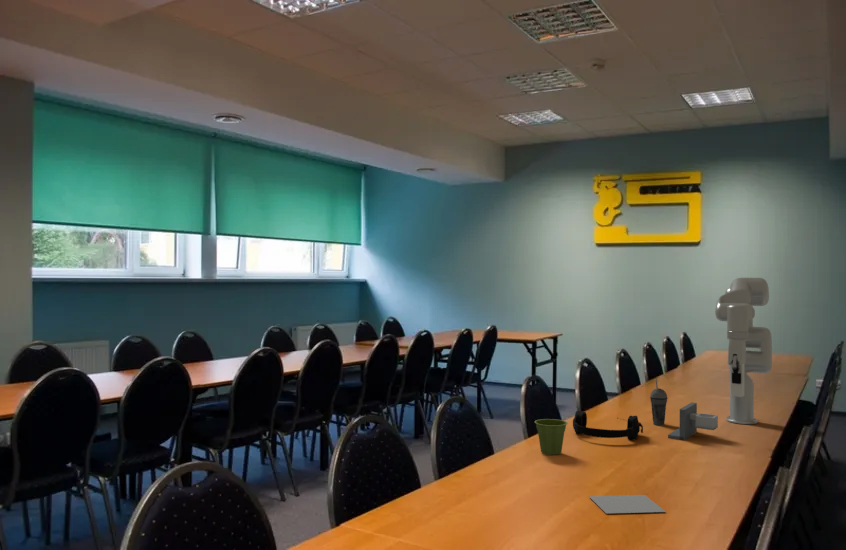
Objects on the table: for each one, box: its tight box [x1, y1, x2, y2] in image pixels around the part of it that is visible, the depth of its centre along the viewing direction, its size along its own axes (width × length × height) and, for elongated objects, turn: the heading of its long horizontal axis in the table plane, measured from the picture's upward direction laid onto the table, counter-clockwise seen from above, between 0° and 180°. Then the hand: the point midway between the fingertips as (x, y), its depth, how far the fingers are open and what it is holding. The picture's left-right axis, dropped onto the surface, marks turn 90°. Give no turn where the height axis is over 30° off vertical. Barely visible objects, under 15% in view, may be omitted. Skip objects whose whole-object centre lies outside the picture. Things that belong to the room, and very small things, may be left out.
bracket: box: [667, 402, 719, 441], centre depth 266 cm, size 18×16×12 cm
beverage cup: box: [649, 378, 669, 426], centre depth 289 cm, size 7×7×20 cm
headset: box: [572, 410, 644, 441], centre depth 267 cm, size 28×26×9 cm
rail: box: [731, 362, 744, 397], centre depth 259 cm, size 4×4×14 cm
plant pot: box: [534, 418, 568, 456], centre depth 241 cm, size 12×12×11 cm
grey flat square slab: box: [588, 494, 666, 514], centre depth 190 cm, size 23×25×1 cm
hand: (737, 382), depth 259 cm, fingers closed on rail, 4 cm apart
